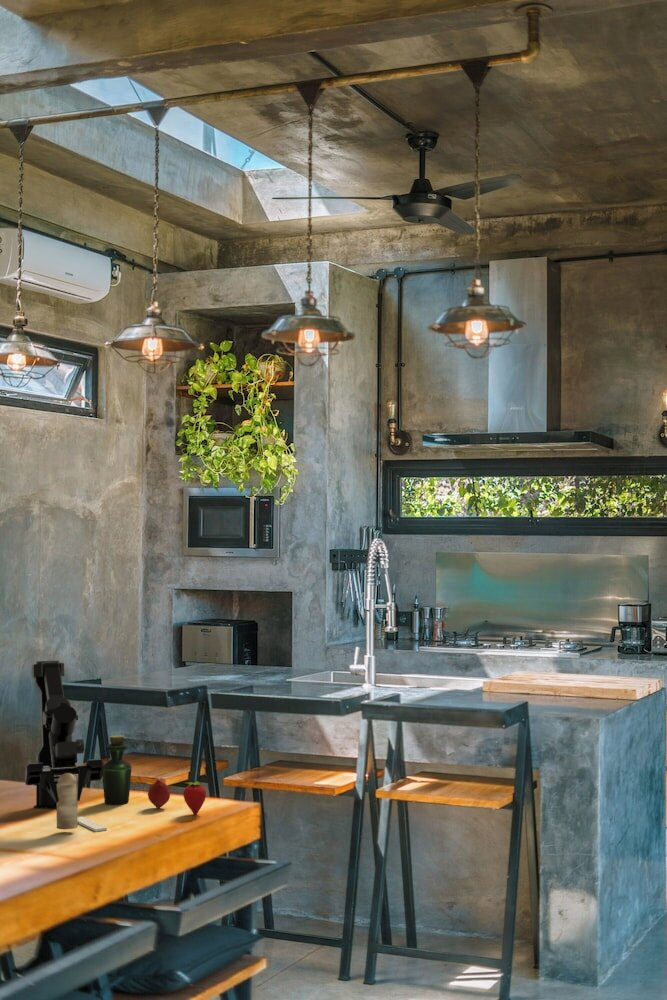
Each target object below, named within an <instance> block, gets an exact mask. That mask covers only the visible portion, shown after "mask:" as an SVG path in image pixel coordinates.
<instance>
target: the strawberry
mask: <svg viewBox="0 0 667 1000" xmlns="http://www.w3.org/2000/svg"><path fill="white" fill-rule="evenodd" d="M185 784H187V785H188V786H186V787H185V788H184V789H183V794H182V796H183V798H184V799H183V800H184V802H185V803H186V806H188V808H189V810H190V811H191V812H192V813H193V814H194V815H197V814H198V813H199V812H200V810H201V809H202V807H203V805H204V803H205V801H206V796H207V791H206V788H205V786H204V782H200V781H197V780H195V781H194V782H189V781H188V782H185Z"/></svg>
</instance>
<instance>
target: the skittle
mask: <svg viewBox="0 0 667 1000" xmlns="http://www.w3.org/2000/svg"><path fill="white" fill-rule="evenodd" d="M77 781H78V778H77V777H76V775H73V774H71V773H65V774H63V775H61V776H60V777H59V778H58V783H57V795H58V802H57V808H56V829H57V830H72V829H77V828H78V827H79V826H78V817H79V816H78V815H79V814H78V813H79V812H78V808H79V807H78V804H79V803H78V802H79V801H78V783H77Z"/></svg>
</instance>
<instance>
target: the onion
mask: <svg viewBox="0 0 667 1000" xmlns="http://www.w3.org/2000/svg"><path fill="white" fill-rule="evenodd" d="M170 797H171V790H170V788H169V786H168V785H167V784H166V783H165V782H164V781H162V780H161V779H160V777H156V781H155V782H153V784H151V785H150V787H149V788H148V791H147V798H148V800H149V802H150V803H151V804H153V806H154V807H155V808H157V809H161V808H162V807H163V806H164V805H166V804H167V803H168V802H169V800H170ZM160 807H161V808H160Z"/></svg>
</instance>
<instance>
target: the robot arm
mask: <svg viewBox="0 0 667 1000" xmlns="http://www.w3.org/2000/svg"><path fill="white" fill-rule="evenodd" d="M30 669H31V670H30V671H31V679H33V686H34V687H35V688H36V690H37V692H38V693H39V695H40V700H39V701H40V723H41V724H40V730H41V733H40V734H41V735H40V736H41V748H40V750H39V752H38V754H37V756H36V759H35V761H36V762H30V763H29V762H28V764H27V765H26V767H25V772H24V773H25V774H24V783H25V785H26V786H35V787H36V791H35V792H36V794H35V797H36V798H35V799H36V804H35V805H33V809H51V810H52V809H54V810H55V809H56V810H57V802H58V795H57V783H58V779H59V777H60V776H61V775H63V774H65V773H71V774H73V775H74V776H77V783H78V802H80V801H81V797H82V793H83V789H84V787H85V785H87V784H90V782H94V781H95V782H98V781H101V780H103V771H104V764H105V762H104V761H103V759H101V758H95V759H86V764H85V765H77V763H78V754H84V753H85V741H84V739H83V738H81V739H80V738H79V739H76V740H73V733H74V731H75V726H76V723H77V721H79V715H78V713H77V711H76V709H75V708H74V707H72V706H71V702H70V700H68V699H67V698H65V694H64V687H63V681H62V678H64V677H65V663H64V662H61V661H59V660H57V659H56V660H36V661H35V664H31V668H30Z"/></svg>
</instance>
